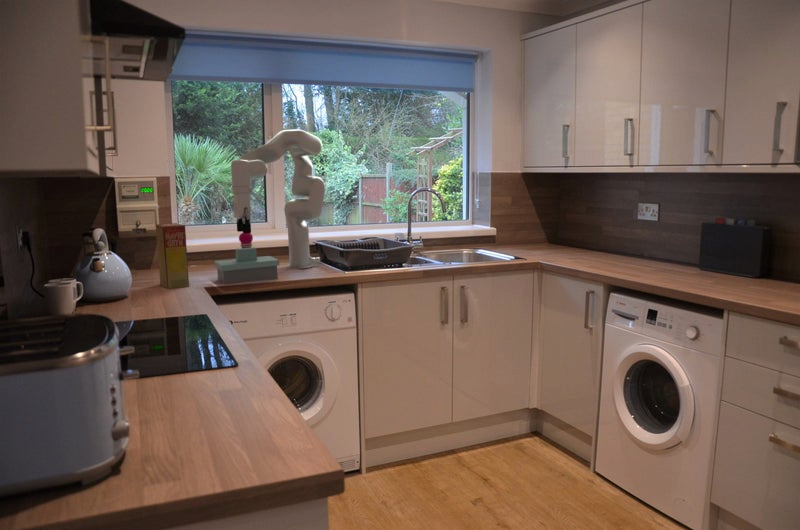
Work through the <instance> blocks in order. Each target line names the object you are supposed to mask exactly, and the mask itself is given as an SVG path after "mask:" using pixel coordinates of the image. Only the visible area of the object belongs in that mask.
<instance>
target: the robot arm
mask: <svg viewBox="0 0 800 530" xmlns="http://www.w3.org/2000/svg"><path fill="white" fill-rule="evenodd" d="M322 150H323V142H322V140H321V139H320V138H319V137H318V136H316V135H313V134H312V133H310V132H307V131H306V130H303V129H284V130H280V131H279V132H278V133H277V134H276V135H274V136H273V137H272V138H271V139H270V140H269V141H268V142H266V143H265V144H263V145H261V146H258V147H256V148H254V149H252V150H249V151H248V152H246V153H244V154H243V155H241V156H240V157H239V158H238V159H234V160H232V161H231V162H230V167H231V168H230V169H231V171H230V172H231V188H232V195H233V217H234V218H235V219H236V231H237V233H239V232H241V233H244V234H246V233H250V234H252V226H251V225H252V224H251V223H252V222H251V217H252V206H251V198H250V195H252V179H257V178H258V179H259V178H263V177H265V176H266V175H267V174H268V169H269V168H268V165H267V164H271V163H275V162H277V161H278V160H280V159H281V158H282V157H283V156H284V155H285V154H286V153H289V155H290V157H291V158H292V161H293V164H294V170H293V174H292V175H293V177H292V182H291V193H292V195H293V196H295V197H297V198H294V199H290V200H288V201H286V203H285V204H284V209H283V210H284V215H285V218H286V219H285V220H286V227H287V238H288V256H289V257H288V259H289V263H288V264H286V268H296V269H298V270H302V269H303V270H305V269H309V268H313V267H314V262H315V263H316V262H317V263H318V262H320V261H321V257H320V256H319V257H318V256H317V257H312V256H311V255H310V252H311V251H310V236H309V235H310V230H309V226H308V224H307V223H306V221H317V220H318V219H319V218H320V217H321V215H322V211H323V205H324V199H325V193H326V192H325V191H326V186H325V182H324V180H323V179H322V178H321V177H320V176H313V171H314V167H313V163H312V162H311V160H310V158H309V157H311V156H313V157H314V156H319V155H320V154H321V153H322ZM304 198H308V199H304Z"/></svg>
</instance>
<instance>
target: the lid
mask: <svg viewBox="0 0 800 530" xmlns="http://www.w3.org/2000/svg"><path fill="white" fill-rule="evenodd" d="M257 254H258V253H257V247H253V246H252V247H251V248H242V247H240V248H235V258H234V259H233V258H232V259H220V260H214V267H215V268H216V269H217V268H218V269H219V270H221V271H229V270H239V269H249V268H259V267H268V266H277V267H278V266H280V259H277V258H276V257H273V256H271V255H266V256H265V255H264V256H258V255H257Z"/></svg>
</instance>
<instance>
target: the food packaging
mask: <svg viewBox="0 0 800 530" xmlns="http://www.w3.org/2000/svg"><path fill="white" fill-rule="evenodd" d="M155 233H156V245H157V258H158V271H159V272H158V275H159V285H161V287H163V288H165V289H166V290H171V289H178V288H179V289H180V288H186V287H187V288H188V287H190V279H189V278H190V277H189V266H188V252H187V251H188V250H187V235H186V225H184V224H179V223H177V222H175V223H173V222H172V223H159V224H155Z"/></svg>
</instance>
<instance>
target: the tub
mask: <svg viewBox="0 0 800 530" xmlns="http://www.w3.org/2000/svg"><path fill="white" fill-rule="evenodd" d="M216 269H217V271H216V272H217V280H218V281H219V282H220V283H222V284H224V285H230V284H241V283H247V282H257V281H258V282H259V281H265V280H266V281H267V280H275V279H278V278H279V277H278V266H268V267H259V268H249V269H239V270H229V271H221V270H219V269H218V268H216Z"/></svg>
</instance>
